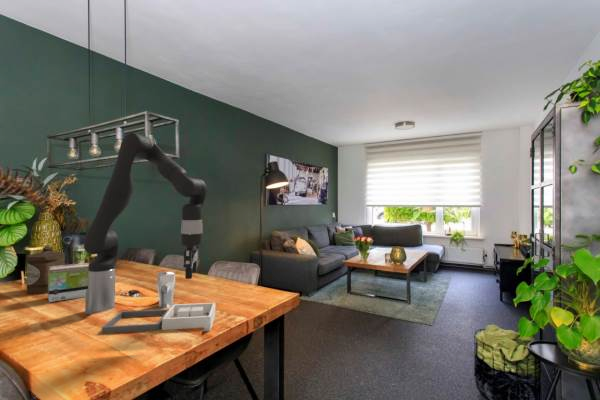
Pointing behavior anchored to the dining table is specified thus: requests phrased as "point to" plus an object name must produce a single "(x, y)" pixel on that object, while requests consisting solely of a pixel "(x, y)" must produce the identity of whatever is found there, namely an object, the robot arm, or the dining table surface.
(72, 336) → the dining table surface
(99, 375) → the dining table surface
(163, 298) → the silver metal goblet
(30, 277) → the wooden container
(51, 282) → the tea box
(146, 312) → the tray
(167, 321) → the bin
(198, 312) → the off-white cube
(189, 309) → the light grey cube block
